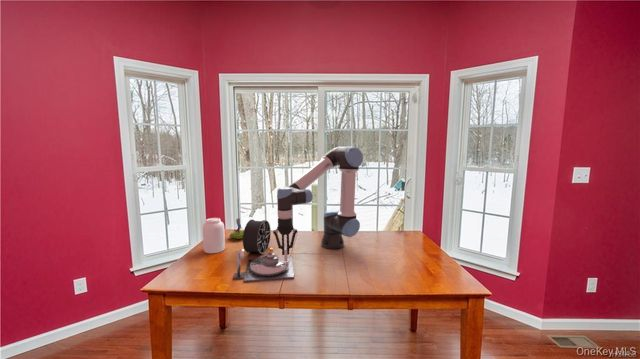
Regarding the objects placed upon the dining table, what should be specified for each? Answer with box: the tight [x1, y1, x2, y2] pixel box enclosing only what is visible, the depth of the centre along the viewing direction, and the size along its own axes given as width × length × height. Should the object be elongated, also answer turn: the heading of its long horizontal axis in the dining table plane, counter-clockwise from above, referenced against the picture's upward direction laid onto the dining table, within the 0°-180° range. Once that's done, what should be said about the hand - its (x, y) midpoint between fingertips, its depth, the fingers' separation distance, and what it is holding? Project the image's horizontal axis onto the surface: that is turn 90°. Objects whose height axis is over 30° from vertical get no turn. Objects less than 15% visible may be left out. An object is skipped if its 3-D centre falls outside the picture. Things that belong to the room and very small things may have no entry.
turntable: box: [250, 246, 289, 276], centre depth 141 cm, size 20×20×7 cm
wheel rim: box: [242, 219, 272, 255], centre depth 164 cm, size 20×9×20 cm, turn 168°
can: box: [202, 217, 226, 254], centre depth 166 cm, size 12×12×20 cm
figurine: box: [228, 217, 244, 240], centre depth 188 cm, size 14×13×15 cm
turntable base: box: [243, 256, 295, 283], centre depth 142 cm, size 24×24×1 cm
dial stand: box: [232, 249, 246, 280], centre depth 133 cm, size 5×5×14 cm
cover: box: [262, 252, 279, 266], centre depth 141 cm, size 8×8×5 cm
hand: (285, 260), depth 143 cm, fingers closed
